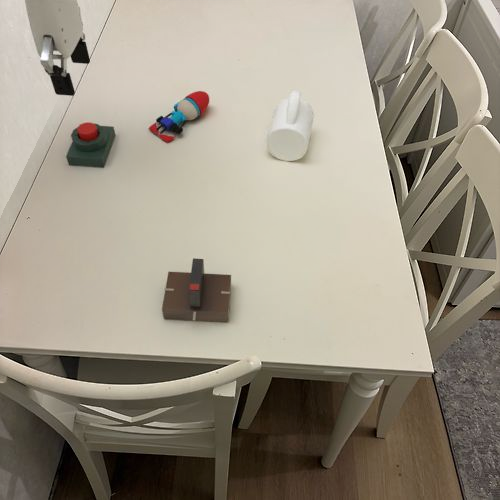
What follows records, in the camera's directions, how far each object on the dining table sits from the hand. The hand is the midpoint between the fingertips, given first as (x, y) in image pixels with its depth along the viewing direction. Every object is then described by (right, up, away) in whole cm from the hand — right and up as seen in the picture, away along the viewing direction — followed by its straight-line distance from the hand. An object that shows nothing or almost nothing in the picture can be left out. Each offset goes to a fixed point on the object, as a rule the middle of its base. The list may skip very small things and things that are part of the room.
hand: (73, 77), depth 85 cm
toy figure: (+16, -2, +20) cm, 26 cm away
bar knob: (+23, -37, -10) cm, 44 cm away
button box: (-1, -10, +13) cm, 16 cm away
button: (-1, -8, +10) cm, 13 cm away
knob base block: (+23, -39, -8) cm, 45 cm away
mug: (+39, -8, +17) cm, 43 cm away
